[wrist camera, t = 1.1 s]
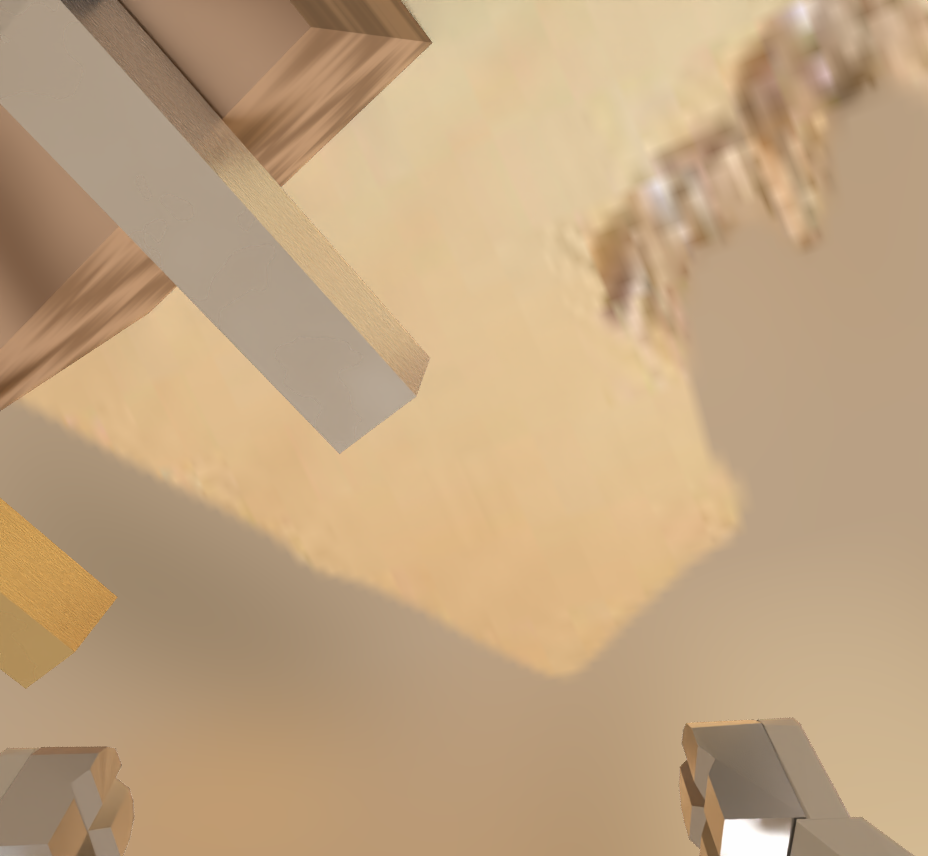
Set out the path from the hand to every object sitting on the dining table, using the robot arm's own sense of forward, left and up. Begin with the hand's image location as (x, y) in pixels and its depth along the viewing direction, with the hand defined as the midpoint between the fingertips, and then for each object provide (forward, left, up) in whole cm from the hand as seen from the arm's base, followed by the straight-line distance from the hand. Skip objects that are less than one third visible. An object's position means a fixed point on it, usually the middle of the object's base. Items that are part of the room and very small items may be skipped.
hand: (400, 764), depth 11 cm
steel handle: (+2, -10, -15) cm, 18 cm away
